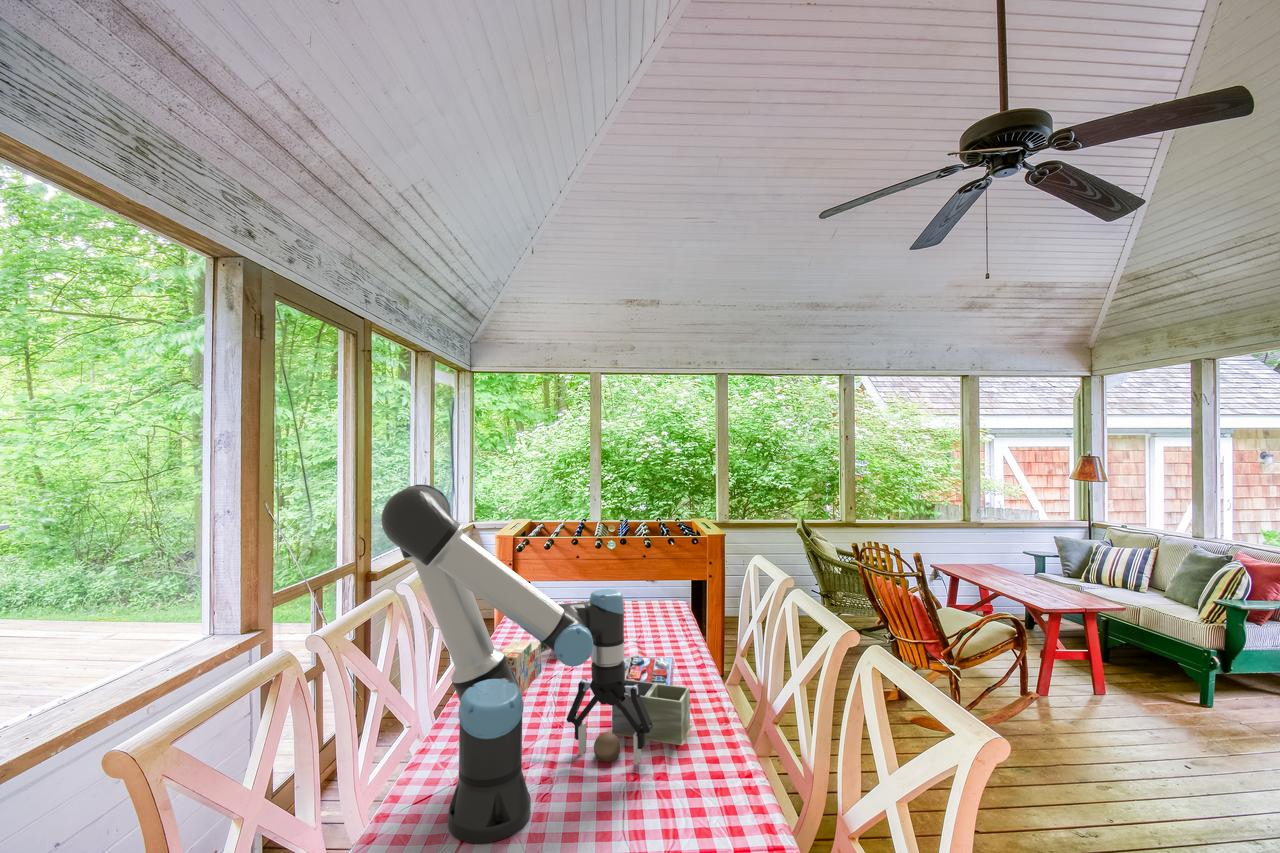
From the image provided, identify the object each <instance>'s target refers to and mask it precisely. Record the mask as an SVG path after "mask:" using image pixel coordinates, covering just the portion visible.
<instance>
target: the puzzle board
mask: <svg viewBox="0 0 1280 853" xmlns="http://www.w3.org/2000/svg"><path fill="white" fill-rule="evenodd" d="M623 661H624V662H625V679H628V680H636V681H643V682H651V683H659V684H666V685H673V680H674V668H675V667H674V665H675V664H674V662H675V658H674V657H672V656H671V657H669V656H667V657H665V656H663V657H662V656H661V657H660V656H639V655H638V654H637V655H636V654H635V655H633V656H625V657H624V660H623Z"/></svg>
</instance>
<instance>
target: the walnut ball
mask: <svg viewBox="0 0 1280 853" xmlns="http://www.w3.org/2000/svg"><path fill="white" fill-rule="evenodd" d="M621 748H622V747H621V742H620V740H619V737H618V735H615V734H613V733H610V731H608V732H607V731H606V732H603V733H601V734H599V735H598V736H597V738H595V741H594V744H593V752H594V756H595V758H597V760H598V761H600V762H602V763H610V762H614V761H615V760H616V759H618V757H619V755H620V753H621Z"/></svg>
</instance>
